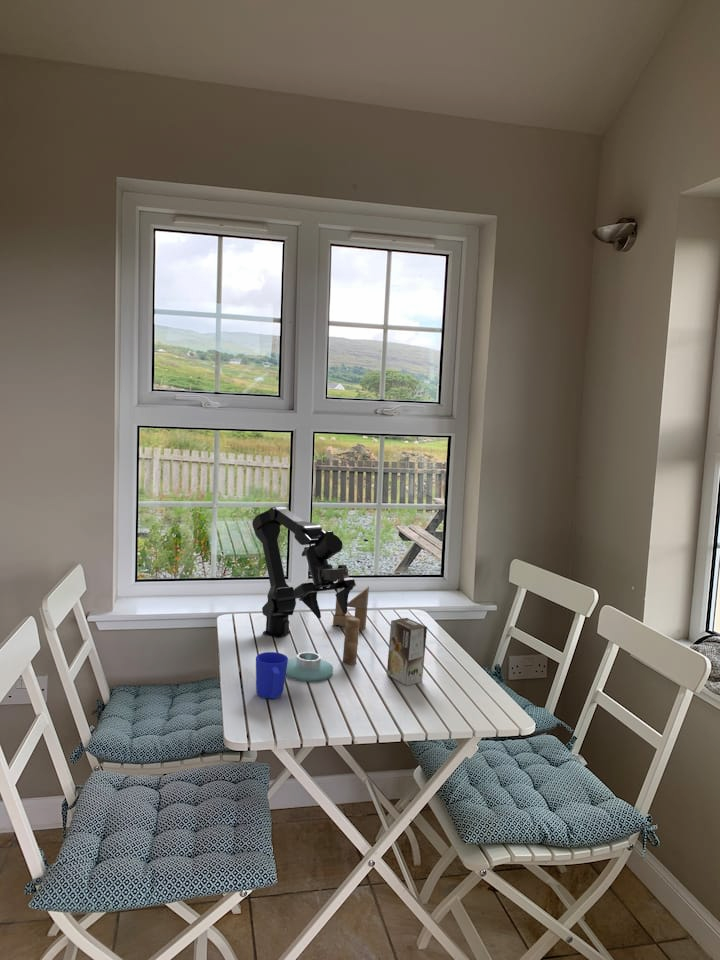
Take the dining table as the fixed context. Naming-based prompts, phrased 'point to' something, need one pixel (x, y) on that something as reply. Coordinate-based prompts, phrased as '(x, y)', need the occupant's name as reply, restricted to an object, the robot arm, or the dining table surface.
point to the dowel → (351, 640)
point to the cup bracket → (308, 668)
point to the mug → (270, 674)
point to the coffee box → (406, 651)
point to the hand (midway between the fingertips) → (332, 616)
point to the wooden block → (357, 603)
